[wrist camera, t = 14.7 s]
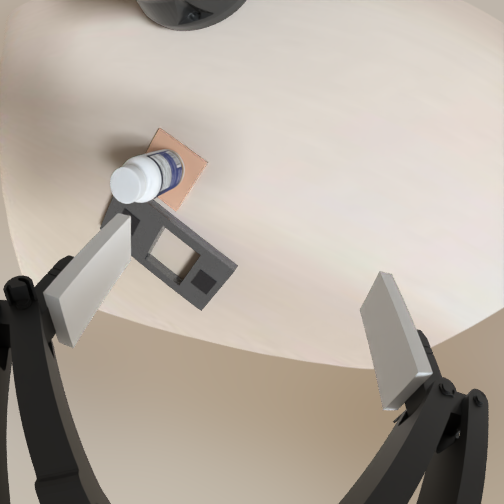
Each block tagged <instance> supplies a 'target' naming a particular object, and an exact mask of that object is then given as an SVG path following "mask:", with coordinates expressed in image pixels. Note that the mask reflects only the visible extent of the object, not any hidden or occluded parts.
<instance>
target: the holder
mask: <svg viewBox="0 0 504 504" xmlns="http://www.w3.org/2000/svg"><path fill="white" fill-rule="evenodd" d="M118 213H119V214H124V215H129V216H131V256H132V257H134V258H135V259H136V260H137V261H138V262H140V263H141V264H142V265H143V266H144V267H146V268H147V269H148V270H149V271H151V272H152V273H153V274H154V275H156V276H157V277H158V278H159V279H161V280H162V281H163V282H164V283H166V284H167V285H168V286H169V287H171V288H172V289H173V290H175V291H176V292H177V293H178V294H180V295H181V296H182V297H184V298H185V299H186V300H188V301H189V302H190V303H191V304H193V305H194V306H195V307H197V308H198V309H199V310H201V311H202V309H203V308H204V307H205V306H206V305H207V303H208V302H209V301H210V300H211V299H212V297H213V296H214V295H215V294H216V293H217V291H218V290H219V289H220V288H221V287H222V285H223V284H224V283H225V282H226V281H227V280H228V278H229V277H230V276H231V275H232V274H233V272H234V271H235V269H236V268H237V266H238V265H236V264H235V263H234V262H232V261H231V260H230V259H228V258H227V257H226V256H225V255H223V254H222V253H221V252H219V251H218V250H217V249H215V248H214V247H213V246H212V245H210V244H209V243H208V242H206V241H205V240H204V239H203V238H201V237H200V236H199V235H197V234H196V233H195V232H194V231H192V230H191V229H190V228H188V227H187V226H186V225H185V224H183V223H182V222H181V221H179V220H178V219H177V218H176V217H174V216H173V215H172V214H171V213H169V212H168V211H167V210H165V209H164V208H163V207H162V206H160V205H159V204H158V203H157V202H155V201H154V200H153V199H152V200H150V201H148V202H144V203H138V202H133V203H130V204H124V203H121V202H119V201H118V200H117V199H116V198H115V197H114V196H113V198H112V201H111V203H110V205H109V208H108V210H107V212H106V215H105V217H104V220H103V222H102V225H101V227H100V229H102V228H103V227H104V226H105V225H106V224H107V223H108V222H109V221H110V220H111V219H112V218H114V217H115V216H116V215H117V214H118ZM164 228H167V229H168V230H169V231H170V232H172V233H173V234H174V235H175V236H177V237H178V238H179V239H181V240H182V241H183V242H184V243H186V244H187V245H188V246H189V247H191V248H192V249H193V250H195V251H196V252H197V253H198V254H200V255H201V256H200V257H199V259H198V260H197V261H196V263H195V264H194V266H193V267H192V268H191V270H190V271H189V273H188V274H187V276H186V277H185V278H184V280H182V279H181V278H180V277H178V276H177V275H176V274H174V273H173V272H172V271H171V270H169V269H168V268H167V267H166V266H164V265H163V264H162V263H161V262H159V261H158V260H157V259H156V258H154V257H153V256H152V255H151V254H150V253H151V251H152V249H153V247H154V246H155V244H156V242H157V240H158V239H159V237H160V235H161V233H162V232H163V230H164Z"/></svg>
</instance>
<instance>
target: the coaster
mask: <svg viewBox="0 0 504 504" xmlns="http://www.w3.org/2000/svg"><path fill="white" fill-rule="evenodd" d="M162 149H170V150H173V151H175V152H176V153H178V154H179V155H180V157H181V158H182V160H183V162H184V166H185V173H184V177H183V180H182V181H181V183H180V184H179V185H178V186H176V187H175V188H173V189H171V190H169V191H167V192H165V193H164V194H162V195H160V196H158V198H159V199H161V200H162V201H163V202H164V203H166V204H167V205H168V206H170V207H171V208H172V209H173V210H175V211H177V210H178V209H179V207H180V205H181V204H182V202H183V200H184V199H185V197H186V196H187V194H188V193H189V191H190V189H191V188H192V186H193V185H194V183H195V182H196V180H197V178H198V177H199V175H200V174H201V172H202V171H203V169H204V168H205V166H206V165H207V163H208V162H206V161H205V160H204V159H202V158H201V157H200V156H198V155H197V154H196V153H194V152H193V151H191V150H190V149H189V148H187V147H186V146H185V145H183V144H182V143H180V142H179V141H178V140H176V139H175V138H173V137H172V136H171V135H169V134H168V133H166V132H165V131H164V130H162V129H161V128H160V129H159V130H158V132H157V133H156V135H155V137H154V139H153V140H152V142H151V144H150V146H149V148H148V150H147V151H146V153H149V152H153V151H157V150H162Z"/></svg>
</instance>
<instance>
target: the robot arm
mask: <svg viewBox="0 0 504 504" xmlns="http://www.w3.org/2000/svg"><path fill="white" fill-rule="evenodd" d="M136 1H137V3H138V4H139V6H140V7H141V9H142V10H143V12H144V13H145V14H146V15H147V16H148V17H149V18H150V19H151V20H153V21H154V22H156V23H158V24H160V25H162V26H164V27H167V28H169V29H173V30H180V31H190V30H198V29H202V28H206V27H209V26H212V25H214V24H216V23H218V22H220V21H222V20H224V19H226V18H227V17H229V16H230V15H232V14H233V13H234V12H236V11H237V10H238V9H239V8H240V7H241V6H242V5H243V4H244V3H245V1H246V0H136ZM130 261H131V216H129V215H124V214H119V213H118V214H117V215H116V216H115V217H114V218H112V219H111V220H110V221H109V222H108V223H107V224H106V225H105V226H104V227H103V228H102V229H101V230H100V231H99V232H98V233H97V234H96V235H95V236H94V237H93V238H92V239H91V240H90V241H89V242H88V243H87V244H86V246H85V247H84V248H83V249H82V250H81V251H80V252H79V253H78V254H77V255H76V256H75V257H72V256H69V255H68V256H66V257H65V258H63V259H61V260H59V261H58V262H57V263H56V264H55V265H54V267H53V269H51V270H50V271H49V272H48V274H46V275H45V276H44V277H43V278H42V280H41V281H40V282H39V283H38V284H37V285H36V286H35V287H34V285H33V282H32V279H30V278H29V277H27V276H17V277H14V278H12V279H11V280H9V281H8V282H7V283H6V284H5V286H4V289H3V290H4V293H5V296H6V299H7V300H0V504H10V494H9V483H8V471H7V450H6V429H7V404H8V392H9V381H10V373H11V365H13V374H14V381H15V388H16V395H17V400H18V406H19V411H20V416H21V421H22V426H23V430H24V434H25V438H26V442H27V446H28V449H29V453H30V457H31V460H32V463H33V466H34V470H35V473H36V477H37V480H36V482H35V490H36V493H37V496H38V499H39V502H40V504H111V503H110V502H109V500H108V498H107V497H106V495H105V494H104V493H103V491H102V489H101V487H100V485H99V483H98V481H97V479H96V477H95V475H94V473H93V470H92V468H91V466H90V463H89V461H88V458H87V456H86V454H85V451H84V449H83V446H82V443H81V441H80V438H79V435H78V433H77V430H76V427H75V424H74V421H73V418H72V415H71V412H70V409H69V405H68V402H67V399H66V395H65V392H64V388H63V385H62V381H61V377H60V373H59V369H58V365H57V360H56V356H55V351H54V346H53V342H52V340H51V339H52V338H53V336H54V335H55V333H56V335H57V338H58V341H59V342H60V343H62V344H64V345H67V346H69V347H72V348H74V346H75V345H76V343H77V341H78V340H79V338H80V336H81V335H82V333H83V332H84V330H85V328H86V327H87V325H88V324H89V322H90V320H91V319H92V317H93V316H94V314H95V313H96V311H97V310H98V308H99V307H100V305H101V303H102V302H103V300H104V299H105V297H106V296H107V294H108V293H109V291H110V290H111V289H112V287H113V286H114V284H115V283H116V281H117V280H118V278H119V277H120V275H121V274H122V273H123V271H124V270H125V268H126V267H127V265H128V264H129V263H130ZM360 313H361V316H362V320H363V324H364V328H365V332H366V336H367V340H368V344H369V348H370V352H371V356H372V360H373V364H374V369H375V373H376V378H377V382H378V387H379V392H380V396H381V402H382V407H383V410H398V409H399V408H400V407H401V406H402V405H403V404H404V403H405V406H406V410H405V411H404V412H403V413H402V414H401V415H400V416H399V417H398V418H396V419H395V420H394V421H393V422H394V423H395V422H397V423H396V425H395V426H394V428H393V430H392V431H391V433H390V434H389V436H388V438H387V439H386V441H385V442H384V444H383V445H382V447H381V448H380V450H379V451H378V453H377V454H376V456H375V457H374V459H373V460H372V461H371V463H370V464H369V465H368V467H367V468H366V470H365V471H364V472H363V474H362V475H361V476H360V478H359V479H358V480H357V482H356V483H355V484H354V485H353V487H352V488H351V489H350V490H349V492H348V493H347V494H346V495H345V497H344V498H343V499H342V500H341V501H340V503H339V504H408V502H409V500H410V498H411V497H412V495H413V493H414V491H415V490H416V488H417V486H418V484H419V482H420V481H421V479H422V477H423V475H424V473H425V476H424V479H423V483H422V487H421V491H420V494H419V497H418V501H417V504H481V500H482V493H483V487H484V480H485V471H486V461H487V448H488V400H487V398H486V396H485V394H484V393H483V392H481V391H480V390H478V389H473V390H471V391H470V392H469V393H468V394H467V395H465V394H462V393H459V392H456V388H455V386H454V385H453V383H452V382H451V381H450V380H448V379H446V378H444V377H442V376H441V373H440V370H439V367H438V365H437V362H436V360H435V357H434V355H433V352H432V350H431V348H430V345H429V342H428V340H427V338H426V336H425V335H424V334H423V333H422V331H421V330H416V327H415V325H414V323H413V320H412V318H411V316H410V313H409V311H408V309H407V306H406V304H405V302H404V300H403V297H402V295H401V293H400V291H399V288H398V286H397V284H396V282H395V280H394V278H393V276H392V274H389V273H385V272H381V271H380V272H379V274H378V276H377V278H376V280H375V282H374V284H373V286H372V288H371V290H370V291H369V293H368V295H367V297H366V299H365V301H364V303H363V305H362V307H361V308H360ZM459 433H460V435H459ZM425 471H426V472H425Z"/></svg>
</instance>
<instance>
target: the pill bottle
mask: <svg viewBox="0 0 504 504" xmlns="http://www.w3.org/2000/svg"><path fill="white" fill-rule="evenodd" d="M184 173H185V166H184V162H183V160H182V158H181V157H180V155H179V154H178V153H176V152H175V151H173V150H170V149H162V150H157V151H153V152H149V153H145V154H142V155H138V156H134V157H132V158H130V159H128V160H127V161H126V162H125V163H124V164H123V166H122V167H120V168H118V169H116V170H115V171H114V172H113V174H112V176H111V179H110V187H111V191H112V194H113V195H114V197H115V198H116V199H117V200H118V201H119V202H121V203H124V204H130V203H133V202H138V203H144V202H148V201H150V200H152V199H154V198H156V197H158V196H160V195H162V194H164V193H165V192H167V191H169V190H171V189H173V188H175V187H176V186H178V185H179V184H180V183H181V181H182V180H183V177H184Z"/></svg>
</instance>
